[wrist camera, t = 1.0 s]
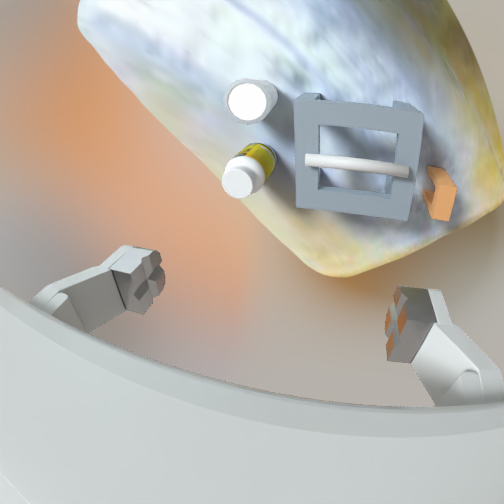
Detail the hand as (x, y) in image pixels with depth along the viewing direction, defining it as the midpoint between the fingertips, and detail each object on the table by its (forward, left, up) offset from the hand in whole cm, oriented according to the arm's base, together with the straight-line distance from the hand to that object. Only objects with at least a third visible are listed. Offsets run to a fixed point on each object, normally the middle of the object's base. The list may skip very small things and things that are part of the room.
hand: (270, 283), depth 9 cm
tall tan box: (+11, +18, -38) cm, 44 cm away
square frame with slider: (+6, +4, -38) cm, 39 cm away
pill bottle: (+10, -12, -39) cm, 42 cm away
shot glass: (-1, -11, -39) cm, 40 cm away
